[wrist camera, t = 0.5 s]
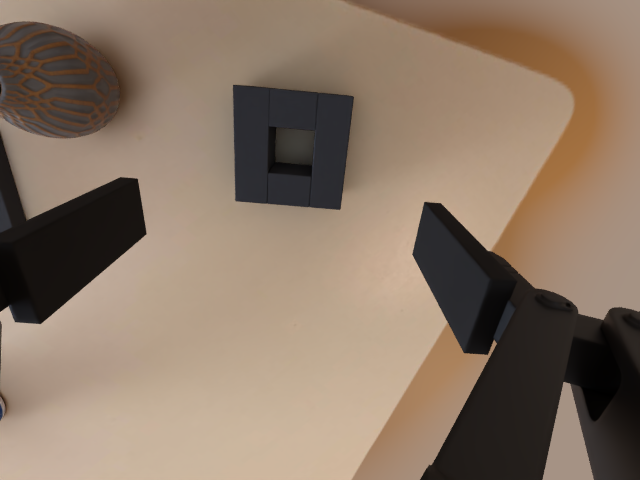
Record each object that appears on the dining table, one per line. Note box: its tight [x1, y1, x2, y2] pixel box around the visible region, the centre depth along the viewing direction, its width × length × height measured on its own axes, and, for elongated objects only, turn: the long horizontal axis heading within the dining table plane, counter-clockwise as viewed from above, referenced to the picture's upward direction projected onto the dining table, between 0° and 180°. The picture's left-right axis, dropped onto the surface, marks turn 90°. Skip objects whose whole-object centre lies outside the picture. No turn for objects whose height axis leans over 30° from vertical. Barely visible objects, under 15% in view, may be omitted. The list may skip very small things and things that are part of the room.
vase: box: [0, 22, 120, 138], centre depth 21 cm, size 7×7×9 cm
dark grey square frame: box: [233, 85, 354, 210], centre depth 25 cm, size 8×8×4 cm
